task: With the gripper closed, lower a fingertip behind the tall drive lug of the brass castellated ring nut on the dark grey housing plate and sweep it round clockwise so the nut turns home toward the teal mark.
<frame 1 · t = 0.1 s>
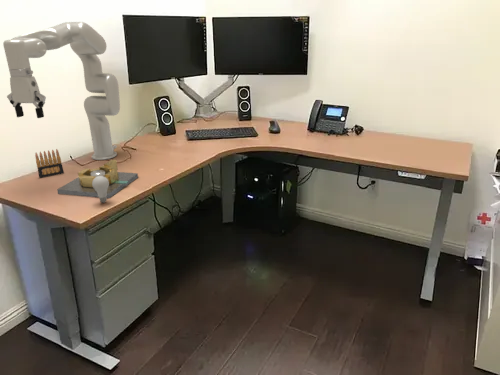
hand: (30, 117, 169), 31 cm above the table, tool pointing down, fingers open, 9 cm apart
housing: (99, 185, 183), on the table
ring nut: (102, 172, 184), point 5 cm above the table, hinge at 0.0°
ammunition clip: (51, 175, 197), on the table
lightbulb: (103, 202, 166), on the table
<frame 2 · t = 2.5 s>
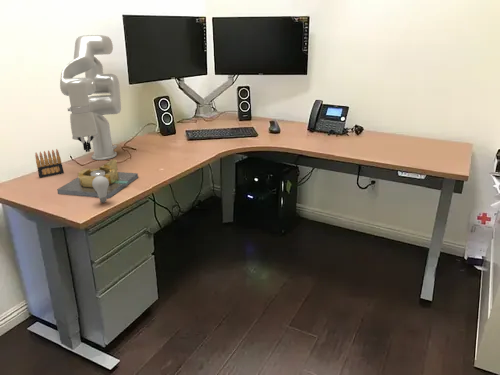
hand: (87, 151, 187), 13 cm above the table, tool pointing down, fingers closed
nothing on the table moved.
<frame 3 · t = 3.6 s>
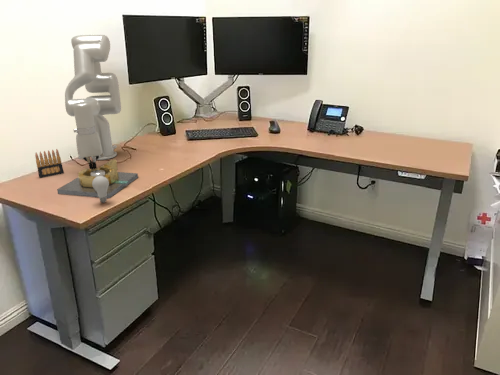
hand: (93, 170, 191), 4 cm above the table, tool pointing down, fingers closed
nothing on the table moved.
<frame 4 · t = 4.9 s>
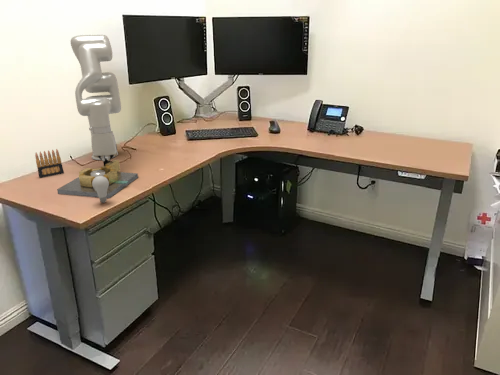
hand: (108, 168, 192), 4 cm above the table, tool pointing down, fingers closed
ring nut: (102, 172, 184), point 5 cm above the table, hinge at 6.2°, touching gripper
everything else where it was.
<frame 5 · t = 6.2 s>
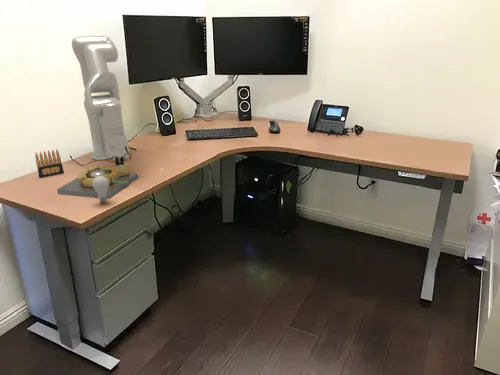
hand: (120, 169, 190), 4 cm above the table, tool pointing down, fingers closed
ring nut: (105, 173, 183), point 5 cm above the table, hinge at 40.3°, touching gripper
everything else where it was.
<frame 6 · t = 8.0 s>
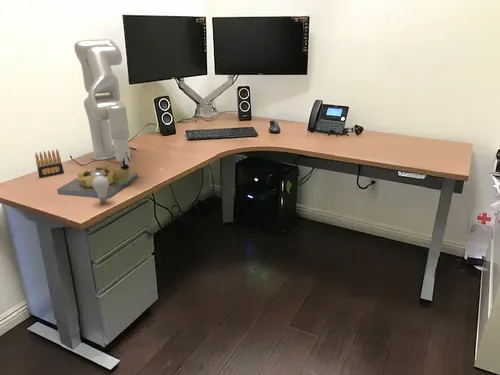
hand: (125, 174, 185), 4 cm above the table, tool pointing down, fingers closed
ring nut: (105, 174, 181), point 5 cm above the table, hinge at 76.5°, touching gripper
everything else where it was.
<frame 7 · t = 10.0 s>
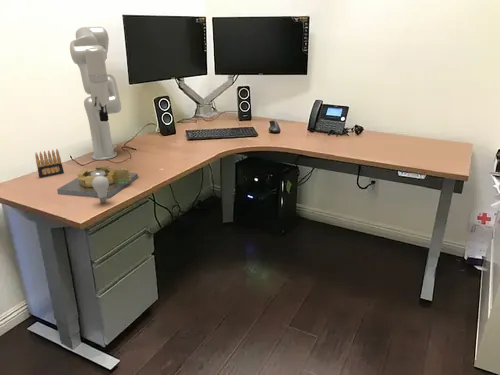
hand: (104, 120, 185), 26 cm above the table, tool pointing down, fingers closed
ring nut: (105, 174, 181), point 5 cm above the table, hinge at 76.6°
everything else where it was.
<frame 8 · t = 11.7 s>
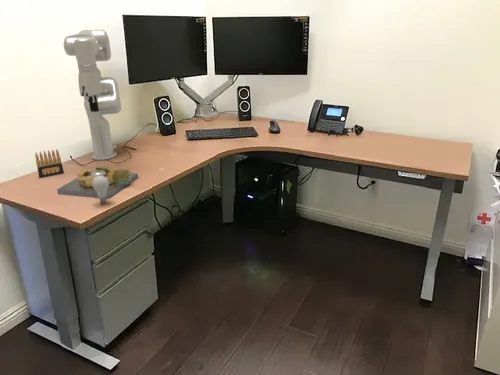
hand: (94, 111, 187), 29 cm above the table, tool pointing down, fingers closed
nothing on the table moved.
at the end: ring nut at +77° (first picture: +0°) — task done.
